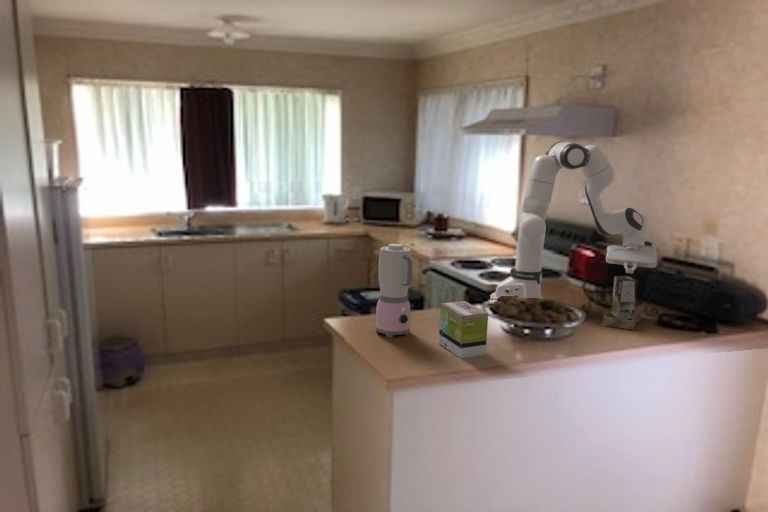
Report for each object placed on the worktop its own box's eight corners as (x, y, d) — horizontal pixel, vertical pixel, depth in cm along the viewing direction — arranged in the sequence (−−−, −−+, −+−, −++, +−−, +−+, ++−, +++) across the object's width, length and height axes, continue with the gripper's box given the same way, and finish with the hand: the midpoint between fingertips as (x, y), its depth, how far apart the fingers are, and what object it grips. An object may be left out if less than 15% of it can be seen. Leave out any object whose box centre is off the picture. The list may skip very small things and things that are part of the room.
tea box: (437, 344, 203) (439, 302, 200) (462, 340, 207) (465, 299, 204) (460, 359, 189) (462, 314, 186) (486, 355, 193) (489, 311, 190)
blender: (368, 330, 215) (371, 243, 209) (396, 325, 222) (399, 240, 215) (393, 343, 202) (396, 250, 196) (421, 337, 209) (426, 248, 203)
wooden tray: (598, 325, 230) (599, 316, 229) (602, 316, 241) (603, 308, 240) (636, 331, 224) (637, 322, 223) (639, 322, 235) (640, 313, 234)
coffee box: (634, 320, 238) (638, 280, 235) (618, 319, 238) (622, 280, 235) (625, 313, 247) (629, 275, 244) (610, 312, 247) (614, 275, 244)
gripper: (607, 239, 259) (603, 265, 252) (659, 244, 250) (655, 270, 244) (607, 248, 264) (603, 273, 257) (658, 252, 255) (654, 279, 248)
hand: (629, 272), depth 250 cm, fingers closed
